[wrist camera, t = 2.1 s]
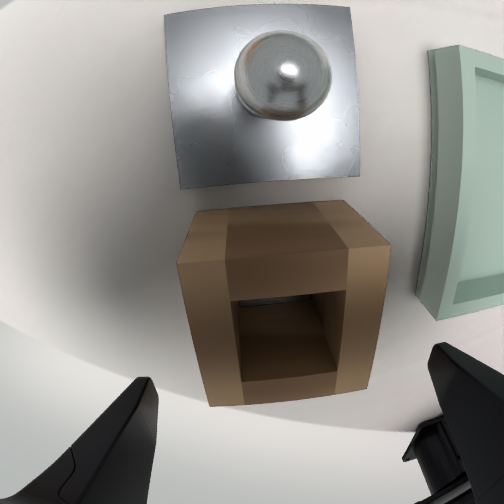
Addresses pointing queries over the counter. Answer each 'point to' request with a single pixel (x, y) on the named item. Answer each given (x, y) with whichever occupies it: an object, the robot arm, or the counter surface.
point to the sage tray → (464, 185)
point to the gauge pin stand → (263, 93)
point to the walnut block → (287, 314)
